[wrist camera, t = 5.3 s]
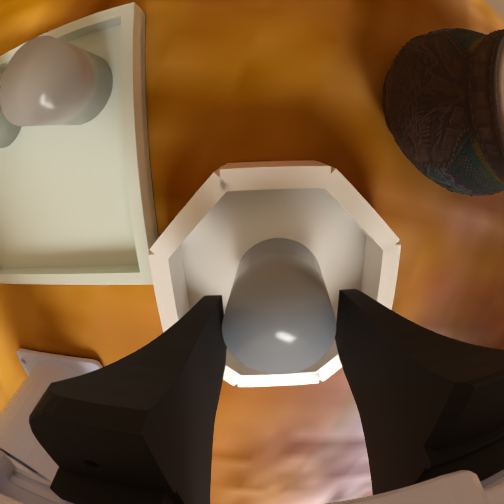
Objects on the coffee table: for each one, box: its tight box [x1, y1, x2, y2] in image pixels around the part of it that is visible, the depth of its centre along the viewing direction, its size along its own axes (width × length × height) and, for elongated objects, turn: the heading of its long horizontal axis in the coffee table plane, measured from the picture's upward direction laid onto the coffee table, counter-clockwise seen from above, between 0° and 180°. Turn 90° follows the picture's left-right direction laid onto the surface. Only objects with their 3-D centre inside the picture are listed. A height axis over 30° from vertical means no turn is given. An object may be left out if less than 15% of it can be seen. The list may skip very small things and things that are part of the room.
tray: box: [0, 2, 159, 285], centre depth 12 cm, size 13×12×2 cm
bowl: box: [148, 160, 401, 387], centre depth 14 cm, size 10×10×3 cm
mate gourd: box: [383, 28, 504, 196], centre depth 8 cm, size 7×8×10 cm
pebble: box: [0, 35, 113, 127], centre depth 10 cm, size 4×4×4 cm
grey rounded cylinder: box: [222, 238, 336, 374], centre depth 11 cm, size 4×4×4 cm
